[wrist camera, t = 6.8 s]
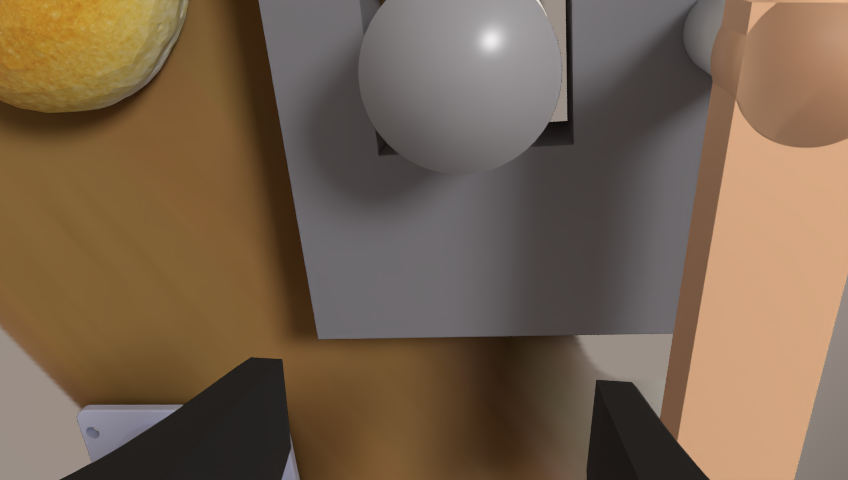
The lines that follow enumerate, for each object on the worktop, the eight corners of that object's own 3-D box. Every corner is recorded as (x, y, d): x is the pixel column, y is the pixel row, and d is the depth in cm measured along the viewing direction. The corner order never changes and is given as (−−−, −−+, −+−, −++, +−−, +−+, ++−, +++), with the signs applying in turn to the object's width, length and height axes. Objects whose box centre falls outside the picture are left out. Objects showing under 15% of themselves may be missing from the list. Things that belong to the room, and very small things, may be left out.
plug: (550, 102, 20) (565, 167, 14) (410, 115, 20) (373, 181, 15) (543, -51, 18) (557, -45, 13) (392, -32, 19) (343, -20, 13)
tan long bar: (723, -23, 12) (748, -18, 11) (882, -23, 12) (930, -19, 10) (643, 500, 17) (653, 549, 15) (756, 509, 16) (777, 561, 15)
